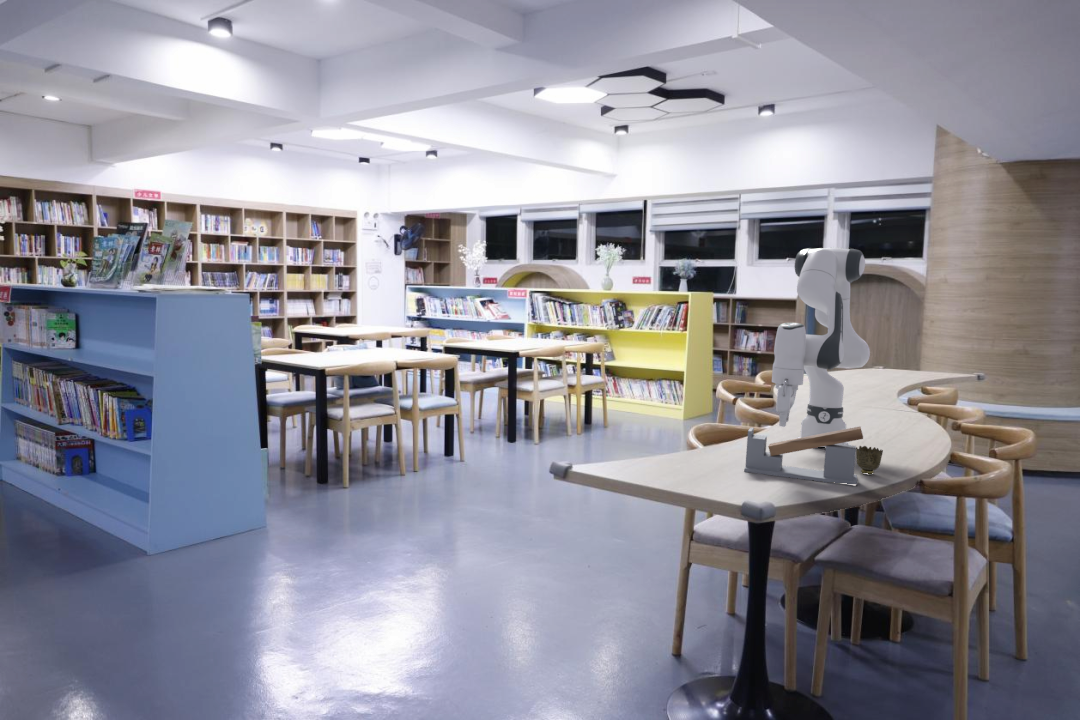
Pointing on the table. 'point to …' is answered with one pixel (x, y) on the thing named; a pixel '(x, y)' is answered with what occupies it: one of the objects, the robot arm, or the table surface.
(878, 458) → the cup
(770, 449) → the walnut bar
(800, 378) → the robot arm
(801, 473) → the notched stand
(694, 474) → the table surface
